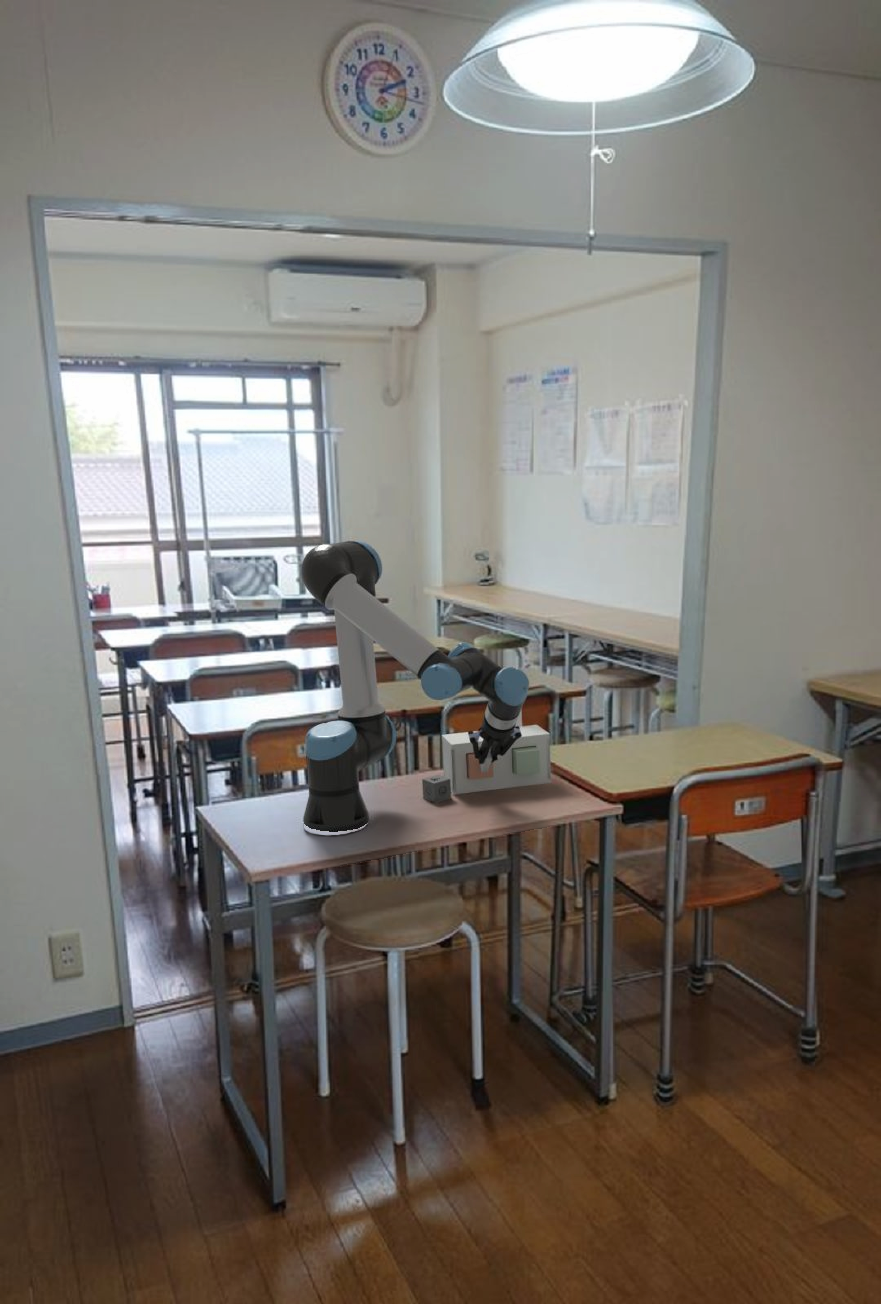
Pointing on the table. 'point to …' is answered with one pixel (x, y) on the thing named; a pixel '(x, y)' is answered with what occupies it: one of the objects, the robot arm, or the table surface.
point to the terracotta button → (476, 768)
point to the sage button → (525, 760)
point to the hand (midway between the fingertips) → (483, 767)
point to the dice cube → (436, 788)
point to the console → (502, 768)
